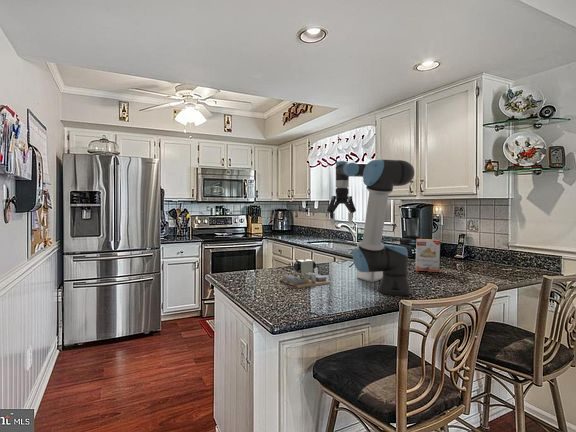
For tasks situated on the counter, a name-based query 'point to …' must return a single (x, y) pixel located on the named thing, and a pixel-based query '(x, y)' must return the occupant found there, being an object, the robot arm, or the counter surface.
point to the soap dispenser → (369, 274)
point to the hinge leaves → (297, 280)
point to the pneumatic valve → (304, 267)
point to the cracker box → (427, 255)
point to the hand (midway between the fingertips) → (341, 224)
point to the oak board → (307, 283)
